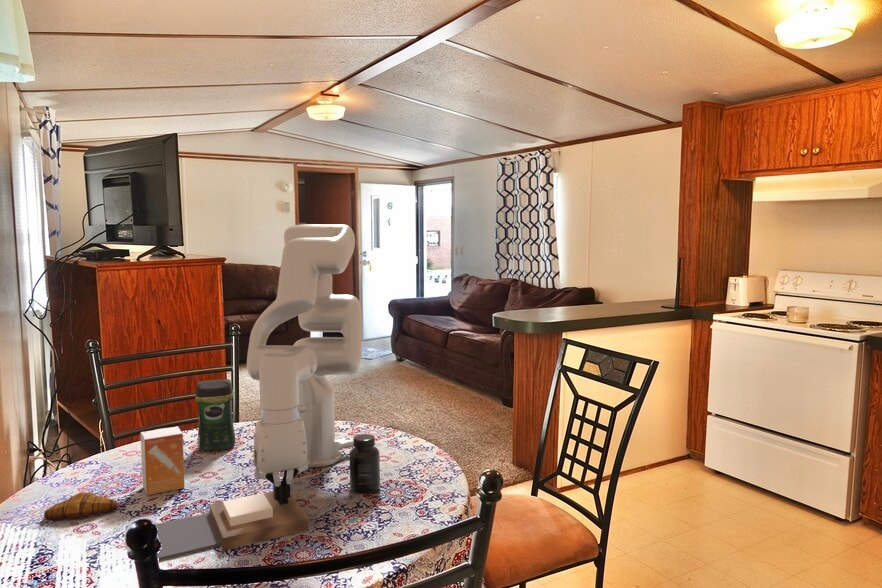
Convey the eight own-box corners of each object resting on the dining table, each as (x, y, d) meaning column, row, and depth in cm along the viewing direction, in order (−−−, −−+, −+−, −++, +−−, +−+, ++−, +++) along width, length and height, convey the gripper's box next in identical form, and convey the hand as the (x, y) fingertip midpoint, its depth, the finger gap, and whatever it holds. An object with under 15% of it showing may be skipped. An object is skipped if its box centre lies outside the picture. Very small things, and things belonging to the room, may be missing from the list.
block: (263, 501, 126) (263, 493, 126) (272, 516, 119) (272, 508, 119) (223, 509, 122) (222, 501, 122) (230, 526, 115) (230, 517, 115)
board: (287, 499, 133) (287, 488, 132) (309, 529, 119) (308, 518, 118) (209, 515, 125) (209, 504, 125) (223, 550, 111) (223, 538, 111)
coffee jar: (236, 440, 170) (233, 375, 168) (234, 450, 163) (232, 382, 161) (199, 444, 168) (196, 378, 166) (196, 453, 160) (193, 384, 158)
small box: (146, 496, 134) (143, 439, 133) (142, 486, 139) (139, 431, 138) (185, 488, 138) (183, 432, 137) (180, 479, 144) (177, 425, 142)
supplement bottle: (385, 485, 140) (385, 434, 139) (370, 496, 134) (369, 444, 133) (360, 480, 143) (359, 430, 142) (343, 491, 137) (343, 439, 135)
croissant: (121, 504, 131) (120, 482, 130) (114, 518, 124) (113, 494, 124) (50, 512, 127) (48, 489, 126) (38, 527, 120) (37, 503, 120)
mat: (215, 514, 125) (214, 511, 125) (227, 544, 113) (227, 541, 113) (150, 528, 119) (150, 525, 119) (156, 561, 107) (156, 558, 107)
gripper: (310, 404, 129) (312, 487, 131) (237, 414, 122) (240, 503, 123) (322, 413, 122) (323, 501, 124) (245, 425, 115) (249, 517, 117)
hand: (282, 501), depth 124 cm, fingers closed
